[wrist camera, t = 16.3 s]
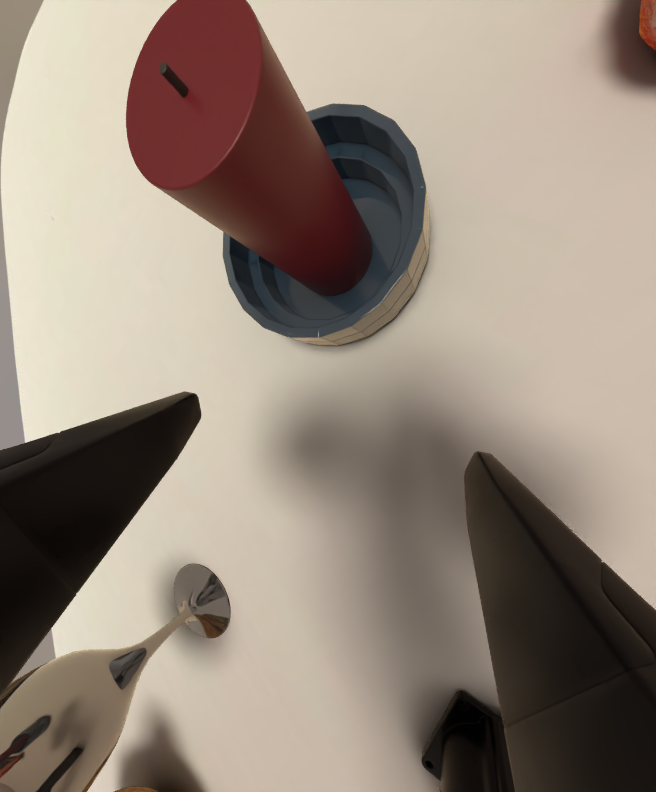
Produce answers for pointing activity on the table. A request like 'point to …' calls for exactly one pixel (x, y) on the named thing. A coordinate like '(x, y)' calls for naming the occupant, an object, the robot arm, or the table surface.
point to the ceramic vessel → (136, 789)
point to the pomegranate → (648, 22)
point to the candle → (242, 144)
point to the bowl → (385, 220)
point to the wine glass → (90, 698)
